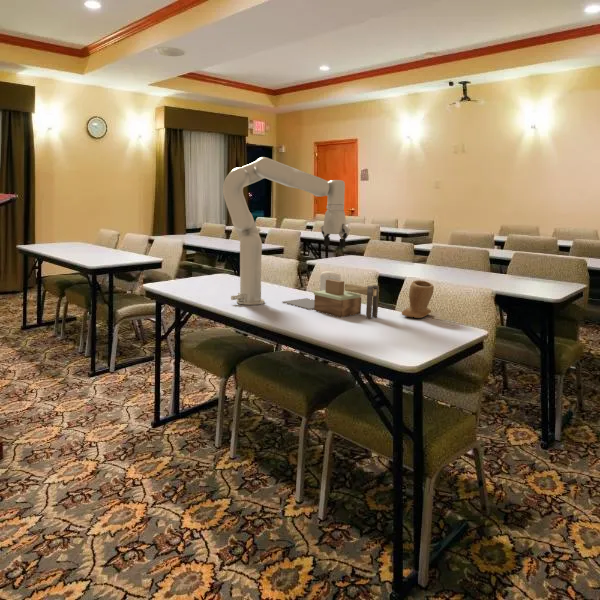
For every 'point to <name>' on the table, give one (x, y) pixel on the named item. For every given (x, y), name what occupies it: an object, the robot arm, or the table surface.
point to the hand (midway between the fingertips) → (334, 246)
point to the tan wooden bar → (358, 289)
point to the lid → (336, 291)
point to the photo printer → (328, 275)
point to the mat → (302, 303)
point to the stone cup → (419, 299)
